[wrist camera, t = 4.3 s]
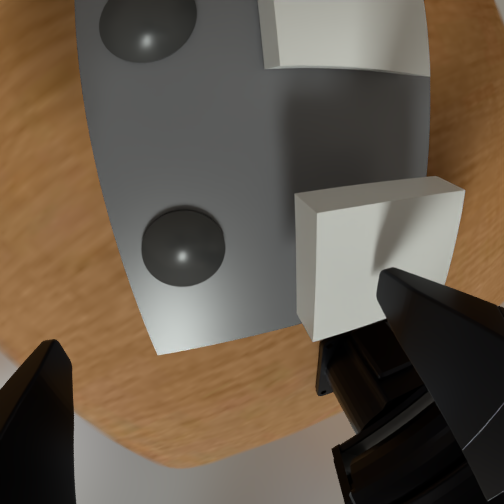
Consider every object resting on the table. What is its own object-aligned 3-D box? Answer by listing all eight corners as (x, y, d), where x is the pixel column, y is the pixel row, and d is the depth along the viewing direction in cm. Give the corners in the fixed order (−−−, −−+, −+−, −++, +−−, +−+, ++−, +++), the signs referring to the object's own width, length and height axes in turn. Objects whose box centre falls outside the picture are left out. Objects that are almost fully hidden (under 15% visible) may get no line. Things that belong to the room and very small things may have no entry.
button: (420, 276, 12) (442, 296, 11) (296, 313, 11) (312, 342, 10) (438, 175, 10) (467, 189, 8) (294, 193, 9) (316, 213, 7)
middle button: (406, 74, 10) (432, 76, 8) (264, 69, 9) (280, 65, 7) (395, -24, 7) (420, -31, 6) (252, -47, 6) (265, -65, 5)
